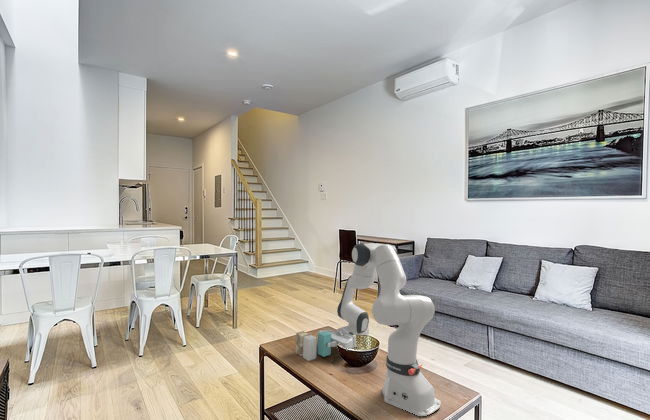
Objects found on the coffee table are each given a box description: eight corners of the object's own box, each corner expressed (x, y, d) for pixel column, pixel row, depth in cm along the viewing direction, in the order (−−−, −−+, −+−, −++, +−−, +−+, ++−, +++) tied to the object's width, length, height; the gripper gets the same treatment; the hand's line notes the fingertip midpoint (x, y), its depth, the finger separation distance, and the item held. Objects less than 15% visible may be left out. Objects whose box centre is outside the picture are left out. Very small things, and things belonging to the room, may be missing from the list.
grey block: (316, 358, 161) (316, 337, 161) (308, 361, 158) (309, 339, 158) (310, 355, 164) (310, 334, 164) (302, 357, 161) (303, 336, 161)
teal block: (330, 354, 163) (331, 333, 163) (323, 356, 160) (324, 335, 160) (324, 351, 166) (325, 331, 166) (317, 353, 163) (318, 333, 163)
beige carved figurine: (308, 353, 165) (308, 333, 165) (301, 356, 162) (301, 335, 162) (302, 350, 169) (303, 331, 169) (295, 353, 166) (296, 333, 166)
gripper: (330, 324, 179) (309, 330, 170) (358, 336, 164) (337, 343, 155) (329, 336, 179) (309, 342, 170) (357, 349, 164) (337, 356, 155)
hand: (323, 343), depth 162 cm, fingers closed on teal block, 4 cm apart
